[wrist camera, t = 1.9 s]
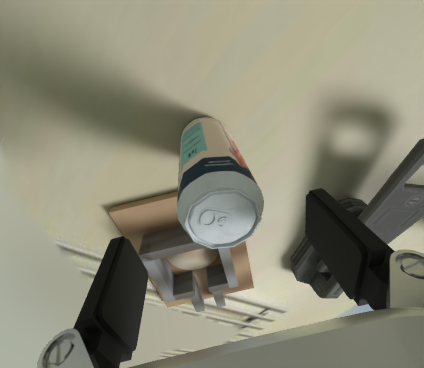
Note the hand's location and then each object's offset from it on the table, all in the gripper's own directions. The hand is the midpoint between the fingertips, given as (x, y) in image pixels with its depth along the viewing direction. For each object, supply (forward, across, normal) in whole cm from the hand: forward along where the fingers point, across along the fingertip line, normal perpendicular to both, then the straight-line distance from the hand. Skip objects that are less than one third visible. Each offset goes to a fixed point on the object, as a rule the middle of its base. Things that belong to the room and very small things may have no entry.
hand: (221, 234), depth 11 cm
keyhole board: (+12, +5, +14) cm, 19 cm away
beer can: (+12, 0, -1) cm, 12 cm away
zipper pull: (+13, -16, +13) cm, 25 cm away
